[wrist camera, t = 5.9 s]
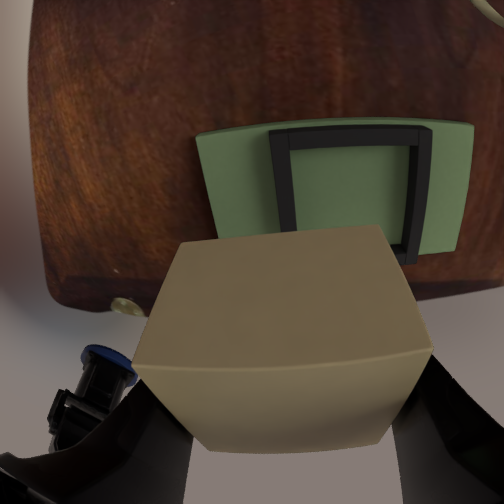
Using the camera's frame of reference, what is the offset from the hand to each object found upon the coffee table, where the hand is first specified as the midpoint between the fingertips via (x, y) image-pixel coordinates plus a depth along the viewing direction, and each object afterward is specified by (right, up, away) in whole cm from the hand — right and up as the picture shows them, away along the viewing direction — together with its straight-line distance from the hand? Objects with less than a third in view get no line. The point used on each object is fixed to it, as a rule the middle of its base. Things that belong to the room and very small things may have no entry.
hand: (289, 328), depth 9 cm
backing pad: (+5, +6, +9) cm, 12 cm away
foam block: (0, +1, +1) cm, 1 cm away
